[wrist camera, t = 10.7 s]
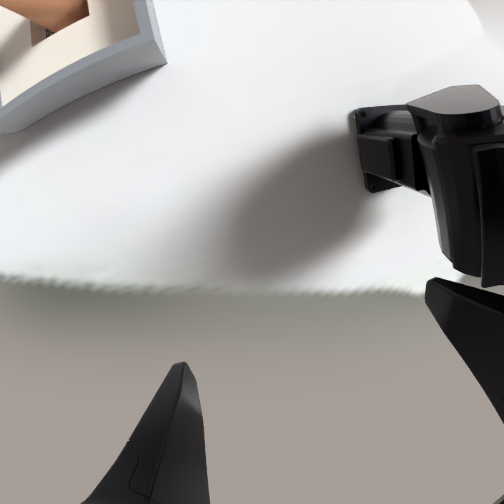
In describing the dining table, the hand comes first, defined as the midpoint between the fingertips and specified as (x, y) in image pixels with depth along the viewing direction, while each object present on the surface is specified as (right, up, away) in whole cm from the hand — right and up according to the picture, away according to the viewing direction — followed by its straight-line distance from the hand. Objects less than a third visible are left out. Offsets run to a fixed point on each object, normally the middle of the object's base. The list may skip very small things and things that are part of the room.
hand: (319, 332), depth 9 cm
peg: (-15, +19, +3) cm, 24 cm away
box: (-15, +19, +3) cm, 24 cm away
